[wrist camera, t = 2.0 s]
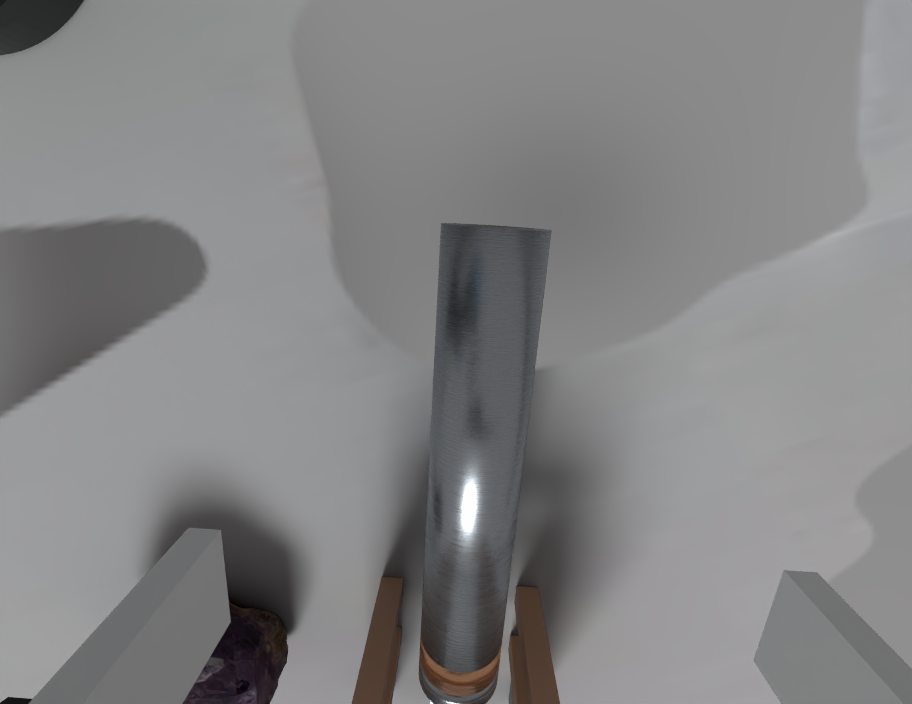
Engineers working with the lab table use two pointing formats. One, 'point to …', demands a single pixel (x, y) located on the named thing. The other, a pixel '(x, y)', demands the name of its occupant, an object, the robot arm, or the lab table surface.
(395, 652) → the collar
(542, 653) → the collar
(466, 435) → the tube
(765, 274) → the lab table surface
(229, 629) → the rock
